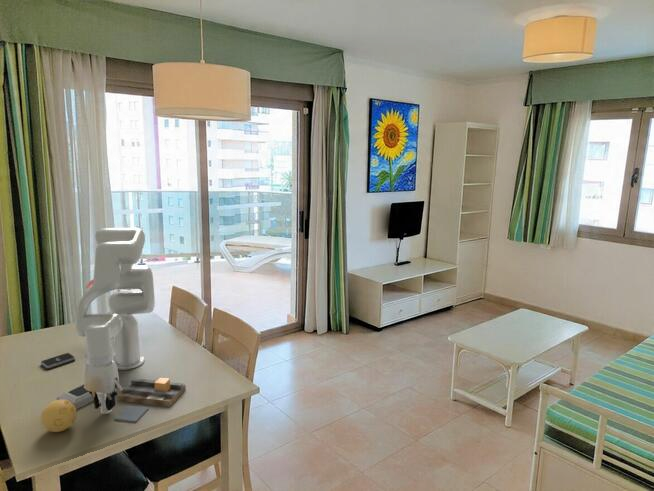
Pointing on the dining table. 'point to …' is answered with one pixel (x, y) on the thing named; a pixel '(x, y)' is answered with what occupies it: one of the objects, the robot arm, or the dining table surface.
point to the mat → (131, 413)
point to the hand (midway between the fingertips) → (105, 406)
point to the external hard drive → (57, 361)
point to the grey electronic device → (77, 396)
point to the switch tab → (162, 384)
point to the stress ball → (58, 415)
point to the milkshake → (103, 402)
